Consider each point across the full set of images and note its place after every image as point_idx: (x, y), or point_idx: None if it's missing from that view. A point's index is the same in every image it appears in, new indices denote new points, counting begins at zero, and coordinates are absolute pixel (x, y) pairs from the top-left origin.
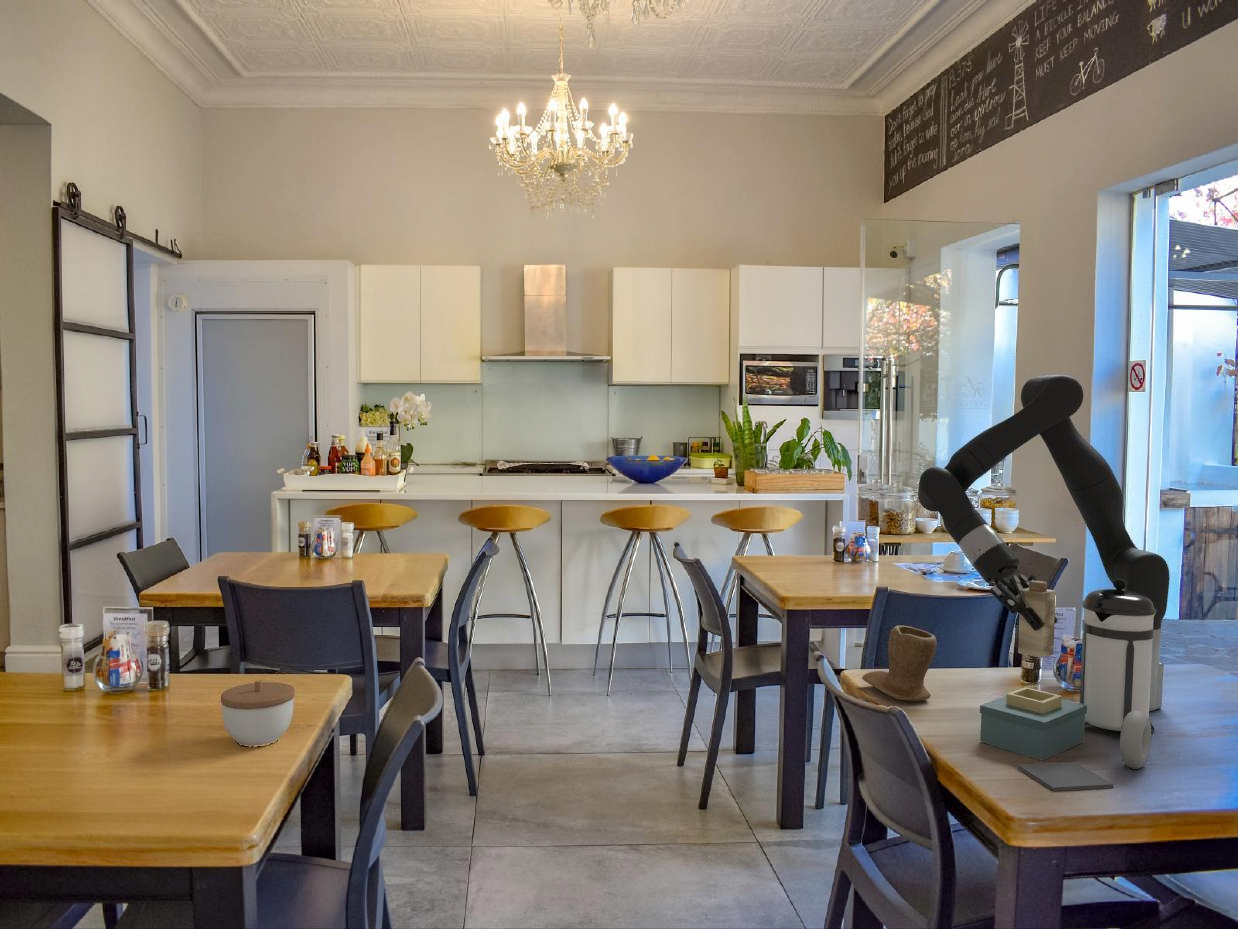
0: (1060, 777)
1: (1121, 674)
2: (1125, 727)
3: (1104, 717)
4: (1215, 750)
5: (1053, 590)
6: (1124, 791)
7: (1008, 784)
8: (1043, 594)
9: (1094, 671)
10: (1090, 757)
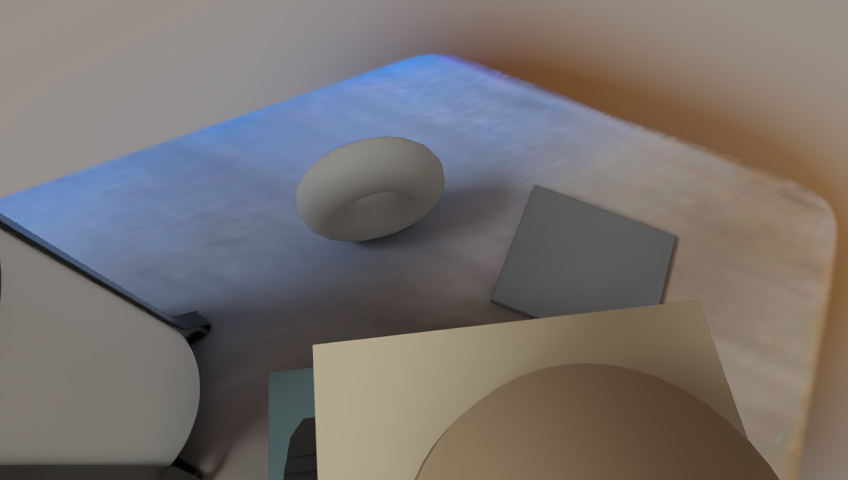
0: (612, 259)
1: (97, 290)
2: (431, 167)
3: (190, 375)
4: (93, 188)
5: (340, 364)
6: (528, 169)
7: (739, 312)
8: (690, 308)
9: (104, 398)
10: (402, 314)
